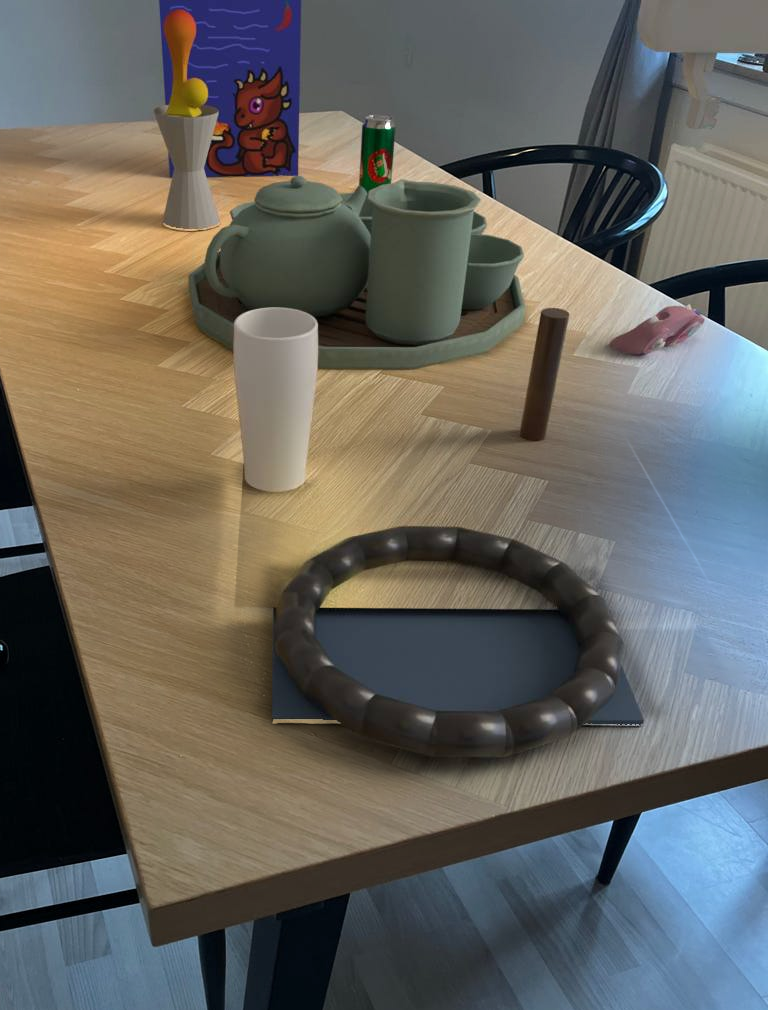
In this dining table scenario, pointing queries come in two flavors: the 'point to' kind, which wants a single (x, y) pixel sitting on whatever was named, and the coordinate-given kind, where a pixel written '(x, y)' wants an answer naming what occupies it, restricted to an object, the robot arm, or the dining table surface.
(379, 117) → the soda can
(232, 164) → the cereal box
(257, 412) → the drinking glass
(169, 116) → the lava lamp
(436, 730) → the dark segmented ring
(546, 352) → the stand
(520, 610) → the felt mat
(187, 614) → the dining table surface
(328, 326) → the tea set
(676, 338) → the pink toy car
